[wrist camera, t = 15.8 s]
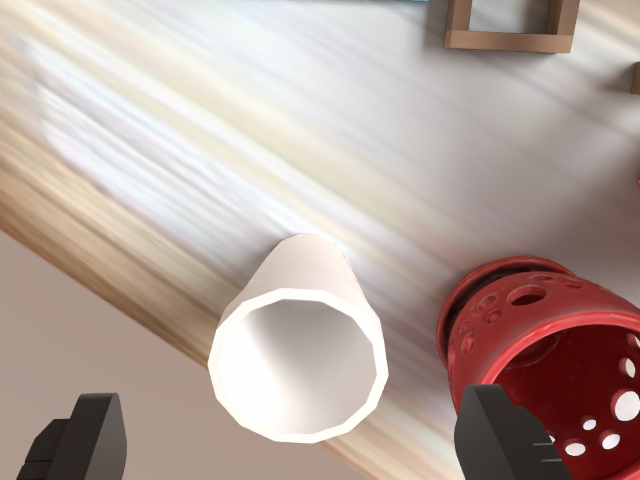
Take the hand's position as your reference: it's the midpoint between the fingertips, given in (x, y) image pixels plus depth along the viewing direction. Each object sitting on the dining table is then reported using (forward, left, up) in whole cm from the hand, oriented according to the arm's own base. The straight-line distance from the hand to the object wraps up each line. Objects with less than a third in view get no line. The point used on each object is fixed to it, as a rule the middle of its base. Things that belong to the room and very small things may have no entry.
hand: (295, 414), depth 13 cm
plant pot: (+16, -11, -27) cm, 33 cm away
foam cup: (0, -8, -27) cm, 28 cm away
